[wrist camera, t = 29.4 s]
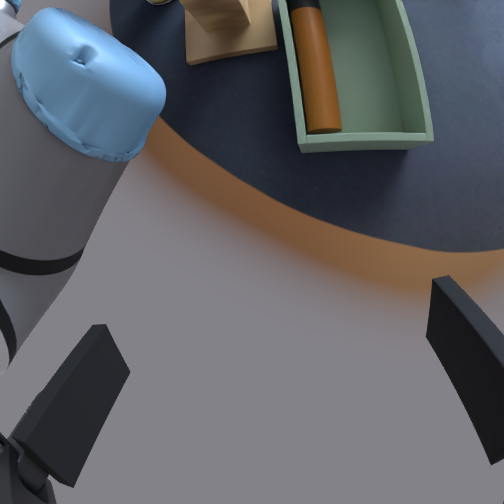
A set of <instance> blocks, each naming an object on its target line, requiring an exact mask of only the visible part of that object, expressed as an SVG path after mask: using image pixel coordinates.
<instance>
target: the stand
mask: <svg viewBox="0 0 504 504" xmlns="http://www.w3.org/2000/svg"><path fill="white" fill-rule="evenodd" d="M179 2H180V3H181V4H182V5H183V6H184V7H185V33H186V58H187V63H188V64H190V65H195V64H200V63H204V62H208V61H213V60H218V59H223V58H228V57H233V56H239V55H245V54H251V53H258V52H265V51H273V50H279V47H278V40H277V34H276V27H275V21H274V15H273V9H272V3H271V0H179Z"/></svg>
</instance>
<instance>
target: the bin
mask: <svg viewBox="0 0 504 504" xmlns="http://www.w3.org/2000/svg"><path fill="white" fill-rule="evenodd" d="M319 2H320V6H321V10H322V15H323V19H324V24H325V28H326V33H327V38H328V43H329V48H330V53H331V58H332V64H333V69H334V75H335V81H336V88H337V94H338V101H339V108H340V115H341V123H342V131H340V132H336V133H330V134H310V133H307V127H306V119H305V110H304V102H303V95H302V87H301V80H300V73H299V66H298V60H297V53H296V47H295V41H294V35H293V29H292V24H291V18H290V13H289V8H288V2H287V0H278V6H279V11H280V17H281V23H282V29H283V35H284V42H285V48H286V55H287V62H288V68H289V76H290V83H291V91H292V98H293V106H294V115H295V123H296V132H297V142H298V146H299V148H300V150H301V153H312V152H329V151H351V150H409V149H412V148H415V147H418V146H421V145H424V144H427V143H431V142H434V136H433V129H432V121H431V115H430V109H429V103H428V97H427V92H426V87H425V82H424V77H423V73H422V68H421V64H420V60H419V56H418V52H417V48H416V45H415V41H414V38H413V34H412V31H411V28H410V24H409V21H408V18H407V15H406V12H405V9H404V6H403V3H402V1H401V0H319Z"/></svg>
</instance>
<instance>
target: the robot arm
mask: <svg viewBox="0 0 504 504" xmlns="http://www.w3.org/2000/svg"><path fill="white" fill-rule="evenodd" d="M20 6H21V0H0V375H2V374H3V373H4V372H5V371H6V369H7V368H8V366H9V364H10V363H11V361H12V359H13V358H14V356H15V354H16V353H17V352H18V350H19V349H20V347H21V346H22V344H23V343H24V341H25V340H26V338H27V337H28V335H29V334H30V333H31V331H32V330H33V328H34V327H35V326H36V324H37V323H38V322H39V320H40V319H41V317H42V316H43V315H44V314H45V312H46V311H47V309H48V308H49V307H50V306H51V304H52V303H53V302H54V300H55V299H56V298H57V296H58V295H59V293H60V292H61V291H62V289H63V288H64V286H65V285H66V283H67V282H68V280H69V279H70V277H71V275H72V273H73V272H74V270H75V268H76V266H77V264H78V262H79V260H80V258H81V256H82V253H83V251H84V248H85V246H86V243H87V241H88V240H89V237H90V235H91V233H92V231H93V229H94V227H95V225H96V223H97V221H98V219H99V216H100V215H101V213H102V211H103V209H104V206H105V205H106V203H107V201H108V199H109V197H110V195H111V193H112V191H113V189H114V188H115V186H116V184H117V182H118V180H119V179H120V177H121V175H122V173H123V171H124V170H125V168H126V166H127V164H128V163H129V161H130V160H131V159H133V158H134V157H135V156H136V155H137V154H138V153H139V152H140V151H141V149H142V148H143V146H144V144H145V141H146V138H147V133H148V132H149V130H150V129H151V127H152V125H153V124H154V122H155V121H156V119H157V117H158V116H159V114H160V113H161V111H162V109H163V107H164V104H165V98H166V88H165V84H164V82H163V80H162V78H161V77H160V75H159V74H158V73H157V72H156V71H155V70H154V69H153V68H152V67H151V66H150V65H149V64H148V63H147V62H146V61H145V60H144V59H142V58H141V57H140V56H139V55H138V54H136V53H135V52H134V51H133V50H131V49H130V48H128V47H126V46H125V45H123V44H121V43H120V42H119V41H118V40H117V39H115V38H114V37H113V36H111V35H110V34H109V33H107V32H105V31H104V30H102V29H101V28H99V27H97V26H96V25H94V24H92V23H90V22H89V21H87V20H85V19H83V18H81V17H79V16H77V15H75V14H73V13H71V12H69V11H66V10H63V9H59V8H53V7H49V8H44V9H42V10H40V11H39V12H38V13H36V14H35V15H34V16H33V18H32V19H31V20H30V22H29V23H28V24H27V25H25V26H24V25H23V24H21V23H20V22H18V21H17V20H16V14H17V13H18V10H19V8H20ZM426 338H427V340H428V341H429V343H430V345H431V346H432V348H433V349H434V351H435V353H436V355H437V357H438V358H439V360H440V362H441V364H442V365H443V367H444V369H445V371H446V373H447V374H448V376H449V378H450V380H451V382H452V384H453V386H454V387H455V389H456V391H457V393H458V395H459V397H460V399H461V401H462V403H463V405H464V407H465V409H466V411H467V413H468V415H469V417H470V419H471V421H472V423H473V425H474V427H475V430H476V432H477V434H478V436H479V438H480V441H481V443H482V445H483V447H484V450H485V452H486V454H487V457H488V459H489V462H490V464H491V465H493V464H495V463H497V462H499V461H500V460H502V459H504V335H503V334H502V333H501V331H500V330H499V329H498V328H497V327H496V325H495V324H494V323H493V322H492V321H491V320H490V319H489V318H488V316H487V315H486V314H485V313H484V312H483V311H482V310H481V309H480V308H479V306H478V305H477V304H476V303H475V302H474V301H473V300H472V299H471V298H470V297H469V295H467V293H466V292H465V291H464V290H463V289H462V288H461V287H460V286H459V285H458V284H457V283H456V282H455V281H454V280H453V279H452V278H451V277H450V276H449V275H448V276H443V277H439V278H434V279H432V290H431V300H430V309H429V318H428V325H427V332H426ZM129 374H130V370H129V368H128V367H127V365H126V363H125V361H124V359H123V357H122V355H121V353H120V352H119V350H118V348H117V346H116V344H115V342H114V340H113V338H112V336H111V334H110V332H109V330H108V327H107V325H106V324H100V325H92V326H91V328H90V329H89V330H88V331H87V333H86V334H85V335H84V336H83V338H82V339H81V340H80V342H79V343H78V344H77V345H76V347H75V348H74V349H73V350H72V352H71V353H70V354H69V356H68V357H67V358H66V360H65V361H64V362H63V364H62V365H61V366H60V367H59V369H58V370H57V372H56V373H55V374H54V376H53V377H52V378H51V380H50V381H49V382H48V384H47V385H46V387H45V388H44V389H43V390H42V391H41V392H40V393H39V394H38V395H37V396H36V398H35V399H34V400H33V402H32V403H31V404H32V405H30V406H29V407H28V409H27V410H26V411H27V412H26V413H24V415H23V416H22V418H21V419H20V421H19V422H18V424H17V425H16V427H15V428H14V430H13V431H12V433H11V434H10V436H9V437H8V438H7V439H6V438H5V437H4V436H3V435H2V434H1V433H0V504H56V500H55V496H54V492H53V487H52V484H51V482H50V480H48V479H47V477H48V475H49V474H50V475H51V476H52V477H53V478H54V479H56V480H57V481H58V482H59V483H62V484H64V485H67V486H70V487H72V488H74V486H75V483H76V481H77V479H78V477H79V475H80V472H81V470H82V468H83V466H84V464H85V462H86V460H87V457H88V455H89V453H90V451H91V449H92V447H93V445H94V443H95V441H96V438H97V437H98V435H99V433H100V430H101V428H102V426H103V424H104V423H105V420H106V419H107V416H108V414H109V413H110V411H111V408H112V407H113V405H114V403H115V401H116V399H117V397H118V395H119V393H120V391H121V389H122V387H123V385H124V383H125V381H126V380H127V377H128V376H129ZM503 504H504V502H503Z"/></svg>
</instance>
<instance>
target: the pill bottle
mask: <svg viewBox="0 0 504 504" xmlns="http://www.w3.org/2000/svg"><path fill="white" fill-rule="evenodd" d="M147 1H148V2H150V3H151V4H155V5H160V4H165V3H167V2H170V1H171V0H147Z"/></svg>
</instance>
